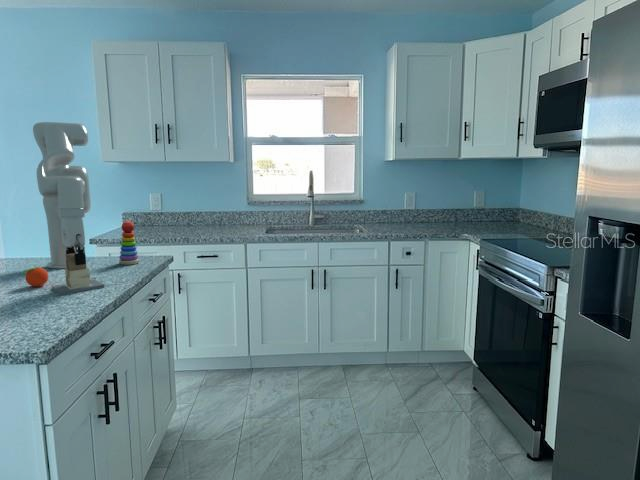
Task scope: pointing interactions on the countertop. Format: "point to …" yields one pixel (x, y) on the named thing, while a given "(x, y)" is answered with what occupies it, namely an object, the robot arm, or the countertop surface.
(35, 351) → the countertop surface
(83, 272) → the maple cube
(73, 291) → the board
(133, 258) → the stacking toy
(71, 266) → the walnut cube
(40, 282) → the clementine
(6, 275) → the countertop surface
